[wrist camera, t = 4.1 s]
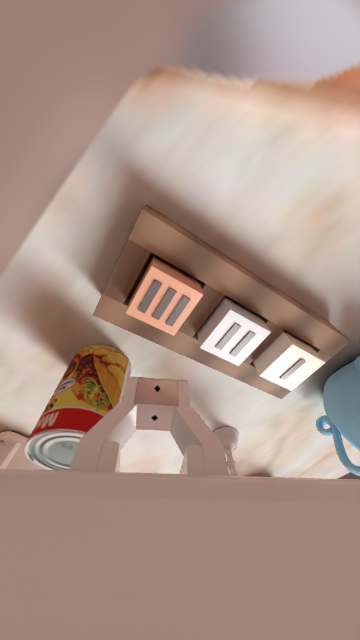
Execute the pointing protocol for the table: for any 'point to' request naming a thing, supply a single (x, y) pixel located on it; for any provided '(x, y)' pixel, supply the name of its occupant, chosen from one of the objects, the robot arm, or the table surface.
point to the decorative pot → (343, 410)
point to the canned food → (78, 405)
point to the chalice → (228, 445)
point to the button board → (209, 299)
